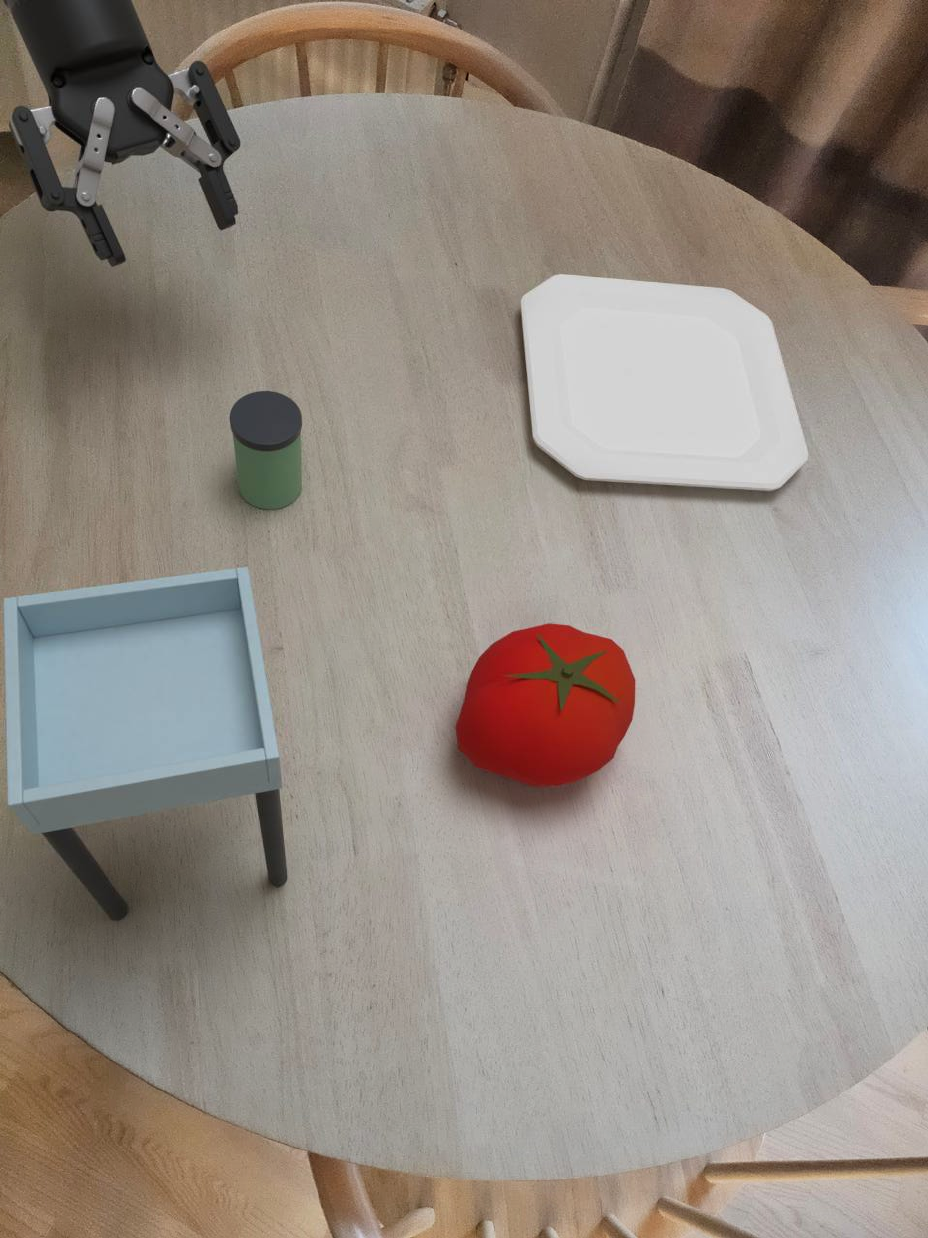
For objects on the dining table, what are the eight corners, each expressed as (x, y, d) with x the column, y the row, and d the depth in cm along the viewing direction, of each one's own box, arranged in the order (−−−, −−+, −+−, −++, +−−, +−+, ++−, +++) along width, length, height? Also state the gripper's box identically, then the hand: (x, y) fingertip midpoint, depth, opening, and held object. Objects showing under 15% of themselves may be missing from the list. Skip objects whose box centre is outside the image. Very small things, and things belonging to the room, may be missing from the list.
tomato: (418, 704, 68) (433, 635, 60) (565, 641, 73) (600, 568, 64) (492, 841, 64) (521, 788, 55) (644, 766, 68) (693, 706, 59)
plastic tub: (241, 514, 74) (234, 447, 68) (233, 463, 77) (225, 393, 70) (308, 506, 76) (307, 440, 69) (297, 456, 78) (295, 387, 71)
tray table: (107, 925, 58) (6, 805, 39) (96, 770, 63) (2, 597, 44) (290, 886, 61) (279, 757, 42) (267, 740, 65) (248, 565, 46)
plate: (532, 489, 80) (537, 472, 78) (514, 286, 92) (518, 267, 90) (809, 505, 83) (821, 489, 81) (756, 306, 95) (764, 289, 93)
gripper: (-41, -9, 56) (90, 269, 62) (180, -54, 61) (280, 205, 67) (-49, 36, 62) (71, 284, 68) (152, -9, 67) (246, 224, 73)
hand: (175, 245), depth 67 cm, fingers open, 8 cm apart
